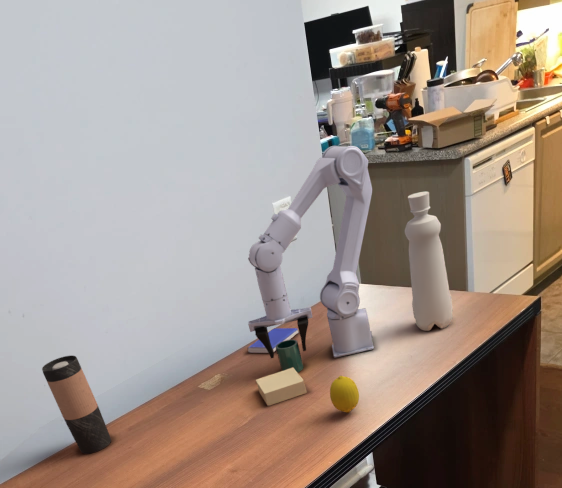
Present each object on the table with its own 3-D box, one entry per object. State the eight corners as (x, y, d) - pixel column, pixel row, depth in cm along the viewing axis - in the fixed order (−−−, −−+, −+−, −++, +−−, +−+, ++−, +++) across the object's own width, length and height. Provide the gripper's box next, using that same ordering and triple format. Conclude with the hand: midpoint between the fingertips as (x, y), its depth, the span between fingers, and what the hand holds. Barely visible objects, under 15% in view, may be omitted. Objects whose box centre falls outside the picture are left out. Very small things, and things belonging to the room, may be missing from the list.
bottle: (414, 321, 161) (397, 195, 146) (452, 314, 159) (438, 186, 144) (416, 335, 154) (397, 203, 139) (455, 328, 151) (441, 193, 136)
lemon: (365, 405, 129) (358, 369, 125) (356, 419, 125) (349, 382, 121) (340, 406, 132) (332, 370, 128) (330, 419, 128) (322, 383, 124)
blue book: (272, 347, 165) (297, 327, 173) (247, 347, 170) (272, 328, 178) (273, 353, 166) (298, 333, 174) (248, 352, 171) (274, 333, 179)
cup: (303, 363, 156) (297, 337, 153) (303, 371, 151) (297, 345, 148) (282, 367, 156) (275, 342, 153) (282, 376, 152) (275, 350, 149)
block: (296, 379, 149) (293, 367, 147) (307, 393, 141) (303, 380, 139) (258, 391, 148) (255, 379, 146) (267, 406, 140) (264, 393, 139)
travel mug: (118, 435, 146) (84, 353, 136) (100, 454, 140) (62, 369, 130) (91, 437, 149) (55, 356, 139) (72, 455, 143) (33, 372, 133)
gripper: (242, 309, 142) (257, 366, 149) (307, 294, 141) (319, 352, 147) (244, 300, 148) (258, 354, 155) (306, 285, 147) (318, 341, 153)
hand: (288, 353), depth 152 cm, fingers open, 7 cm apart
